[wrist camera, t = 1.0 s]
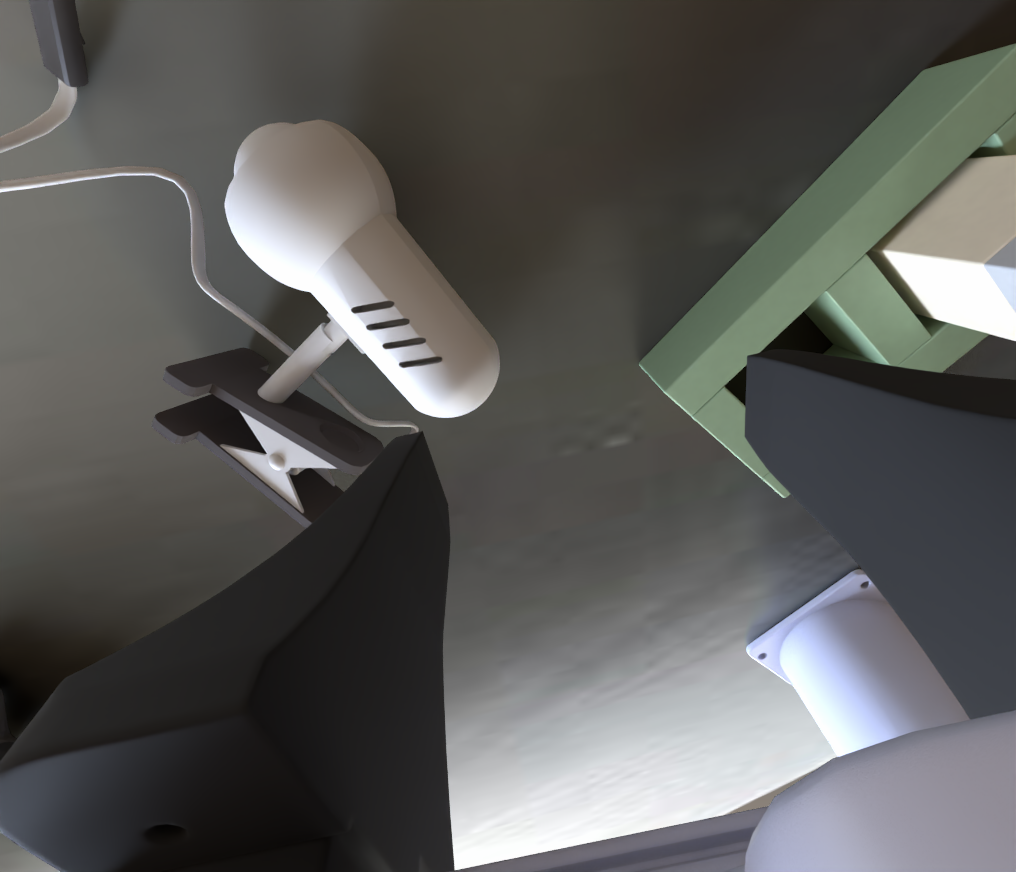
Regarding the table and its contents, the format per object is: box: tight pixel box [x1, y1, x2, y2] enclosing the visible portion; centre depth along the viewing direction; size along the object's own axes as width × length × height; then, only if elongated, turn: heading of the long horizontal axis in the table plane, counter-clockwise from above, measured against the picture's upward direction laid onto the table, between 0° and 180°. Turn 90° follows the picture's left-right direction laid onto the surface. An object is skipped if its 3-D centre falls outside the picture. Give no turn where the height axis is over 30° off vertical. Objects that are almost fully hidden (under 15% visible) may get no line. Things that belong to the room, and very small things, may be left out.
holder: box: [639, 43, 1016, 498], centre depth 19 cm, size 8×14×4 cm, turn 140°
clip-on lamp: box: [0, 0, 500, 528], centre depth 16 cm, size 12×6×18 cm
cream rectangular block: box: [865, 155, 1016, 341], centre depth 16 cm, size 4×4×8 cm
